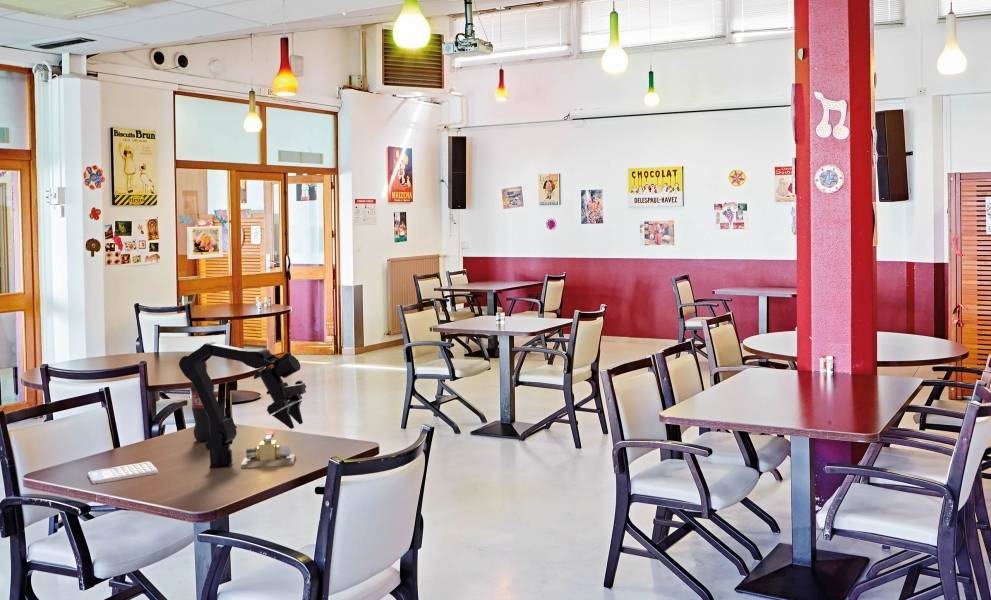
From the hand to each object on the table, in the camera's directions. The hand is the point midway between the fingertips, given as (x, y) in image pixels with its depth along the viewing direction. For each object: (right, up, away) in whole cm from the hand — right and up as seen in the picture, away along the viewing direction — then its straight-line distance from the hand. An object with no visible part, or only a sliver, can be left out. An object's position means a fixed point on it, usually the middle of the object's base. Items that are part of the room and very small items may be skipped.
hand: (297, 426), depth 301 cm
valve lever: (-12, -6, +13) cm, 19 cm away
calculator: (-58, -17, +1) cm, 60 cm away
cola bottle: (-44, -12, +44) cm, 63 cm away
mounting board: (-11, -14, +9) cm, 20 cm away
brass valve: (-12, -12, +9) cm, 19 cm away
